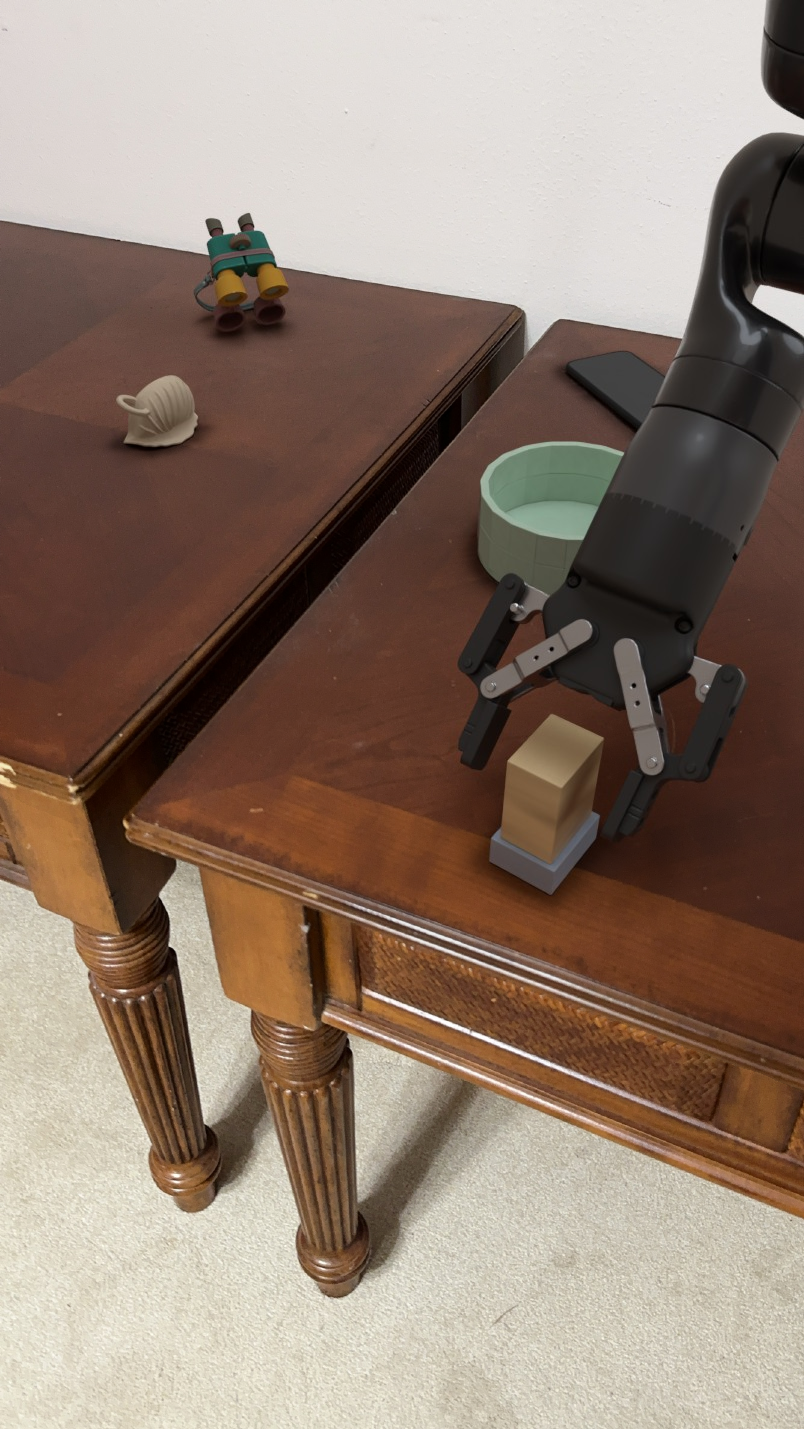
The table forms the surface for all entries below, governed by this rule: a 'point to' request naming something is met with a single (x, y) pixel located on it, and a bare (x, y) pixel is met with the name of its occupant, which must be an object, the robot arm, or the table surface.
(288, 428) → the table surface
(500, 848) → the eraser
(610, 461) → the bowl
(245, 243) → the binoculars
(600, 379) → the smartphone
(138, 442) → the decorative ornament
